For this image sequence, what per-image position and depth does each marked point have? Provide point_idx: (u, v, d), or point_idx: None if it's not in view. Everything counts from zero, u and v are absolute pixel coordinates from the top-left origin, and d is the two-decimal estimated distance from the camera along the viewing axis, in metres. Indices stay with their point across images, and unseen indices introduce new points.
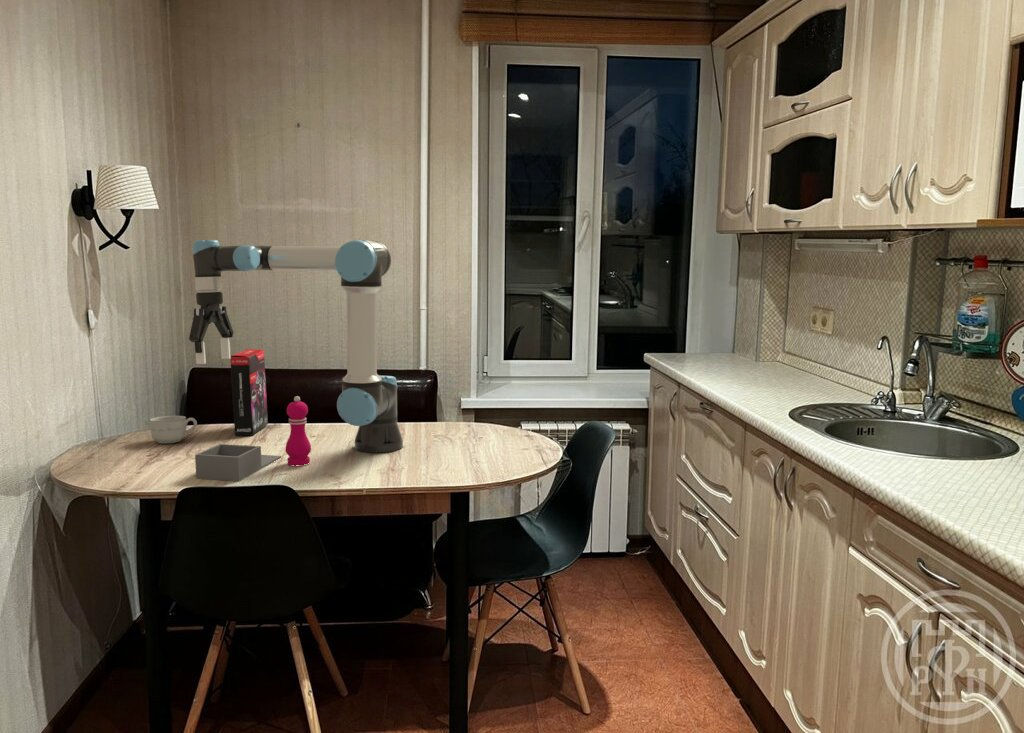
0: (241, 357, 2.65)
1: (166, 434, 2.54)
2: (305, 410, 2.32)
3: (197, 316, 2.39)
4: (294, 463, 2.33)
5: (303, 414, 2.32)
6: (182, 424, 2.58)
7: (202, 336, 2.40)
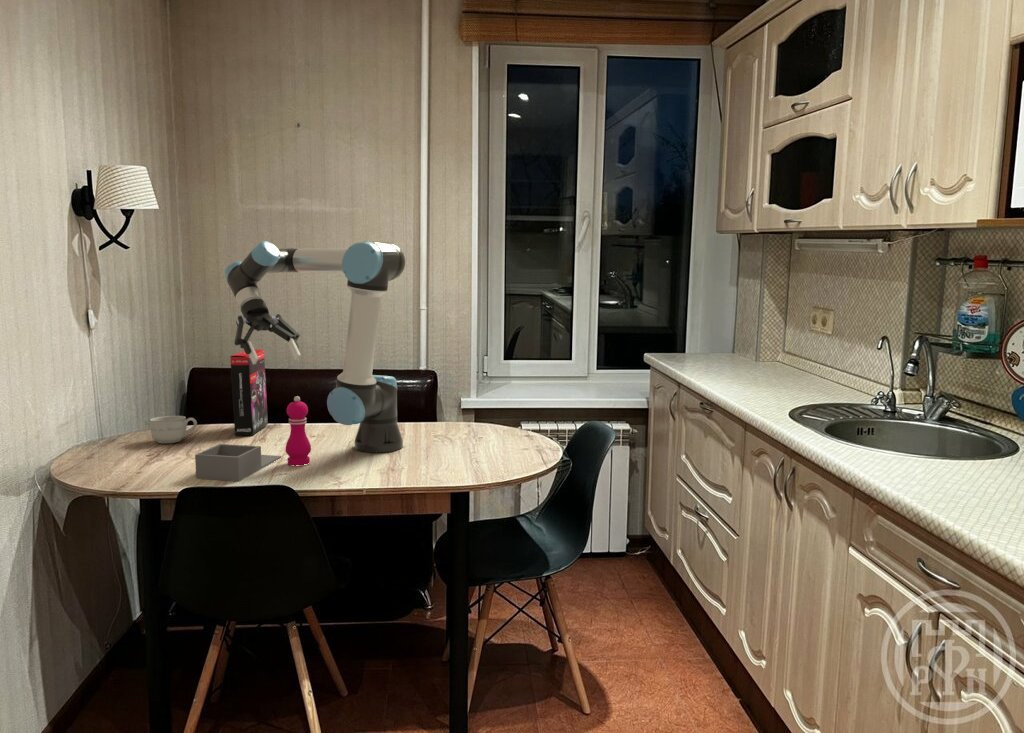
0: (241, 357, 2.65)
1: (166, 434, 2.54)
2: (305, 410, 2.32)
3: (238, 324, 2.40)
4: (294, 463, 2.33)
5: (303, 414, 2.32)
6: (182, 424, 2.58)
7: (246, 337, 2.37)
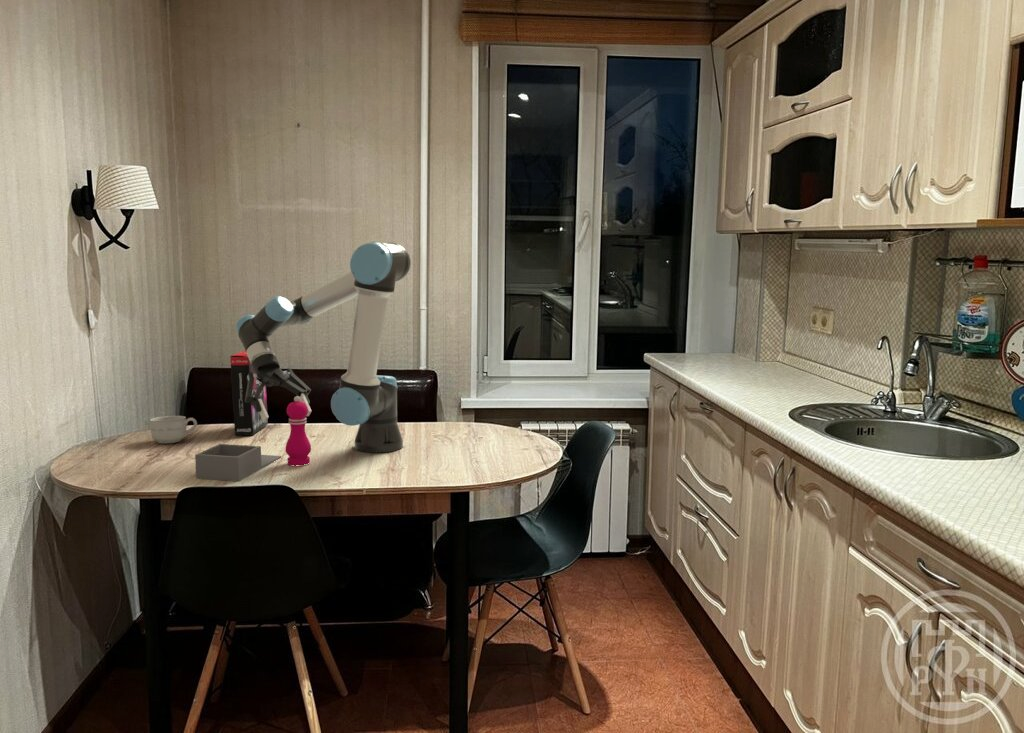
0: (241, 357, 2.65)
1: (166, 434, 2.54)
2: (305, 410, 2.32)
3: (249, 380, 2.38)
4: (294, 463, 2.33)
5: (303, 414, 2.32)
6: (182, 424, 2.58)
7: (257, 394, 2.35)
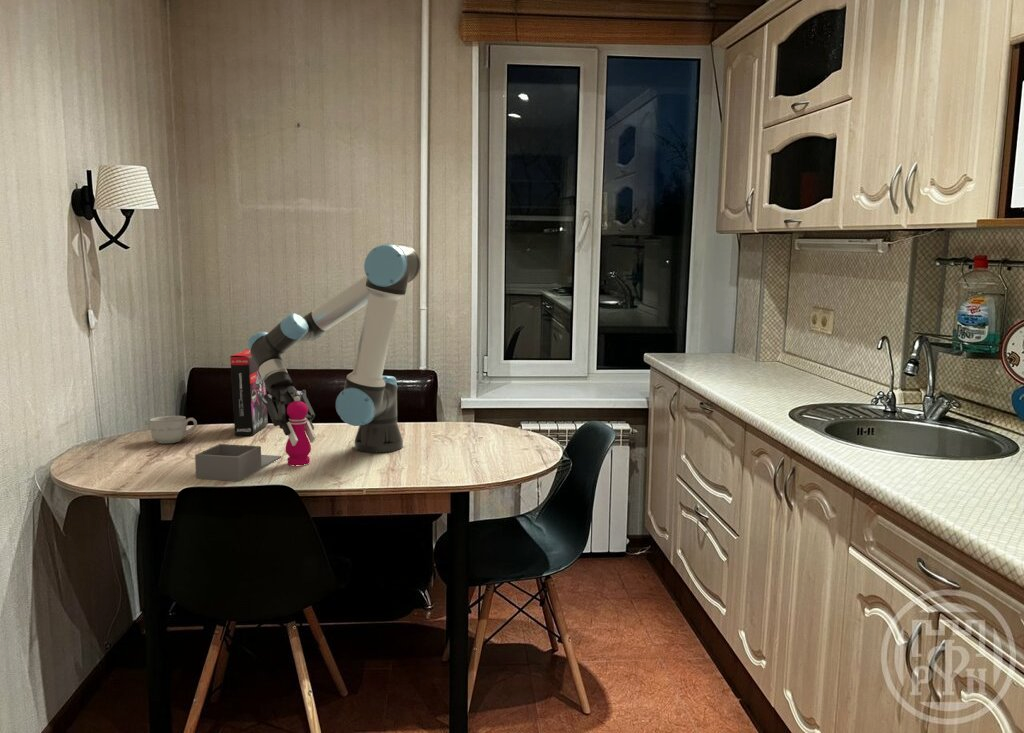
0: (241, 357, 2.65)
1: (166, 434, 2.54)
2: (305, 410, 2.32)
3: (267, 403, 2.34)
4: (294, 463, 2.33)
5: (303, 414, 2.32)
6: (182, 424, 2.58)
7: (283, 417, 2.32)
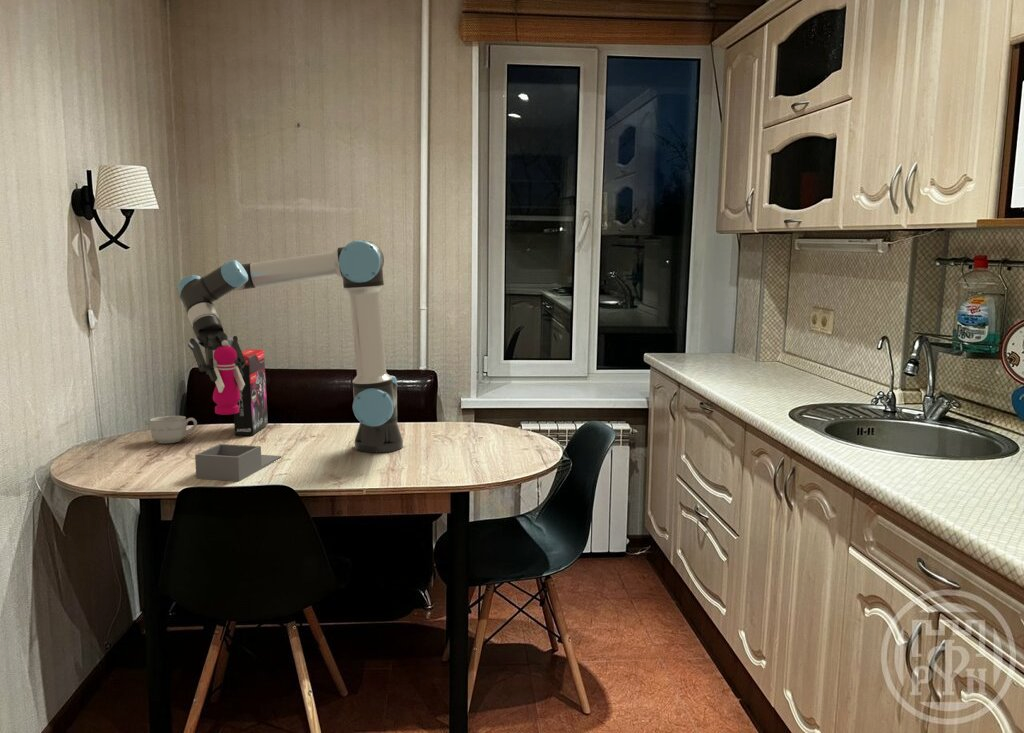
0: None
1: (166, 434, 2.54)
2: (233, 355, 2.19)
3: (193, 348, 2.21)
4: (221, 411, 2.19)
5: (231, 359, 2.19)
6: (182, 424, 2.58)
7: (210, 362, 2.19)
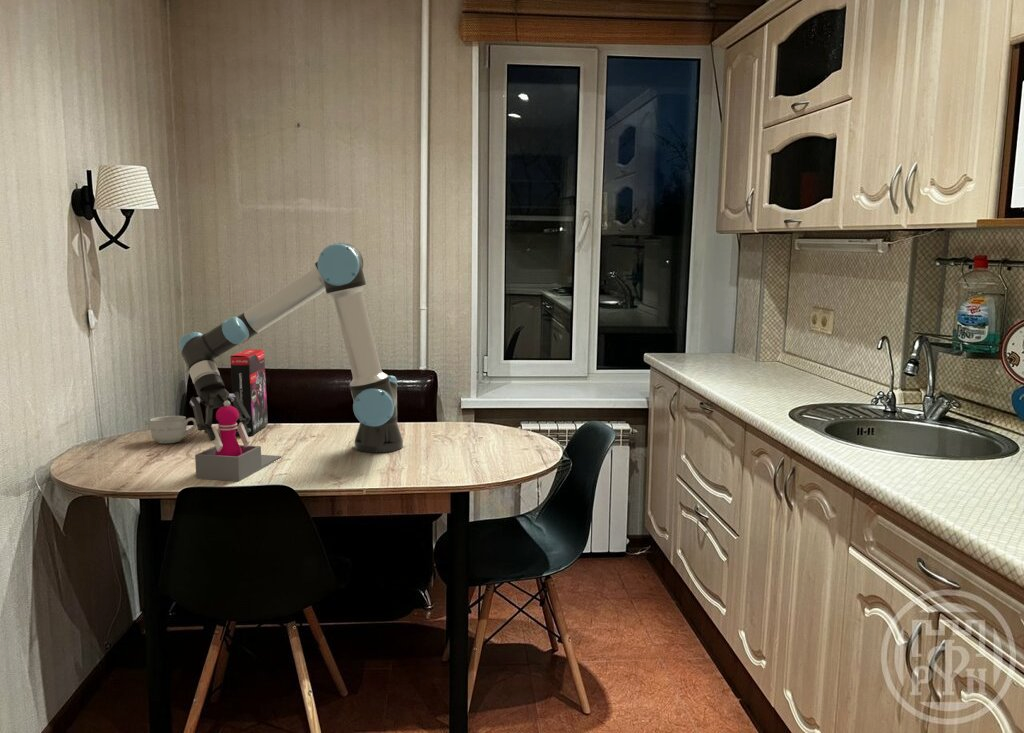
0: (241, 357, 2.65)
1: (166, 434, 2.54)
2: (235, 415, 2.21)
3: (194, 406, 2.23)
4: None
5: (233, 419, 2.21)
6: (182, 424, 2.58)
7: (209, 421, 2.21)
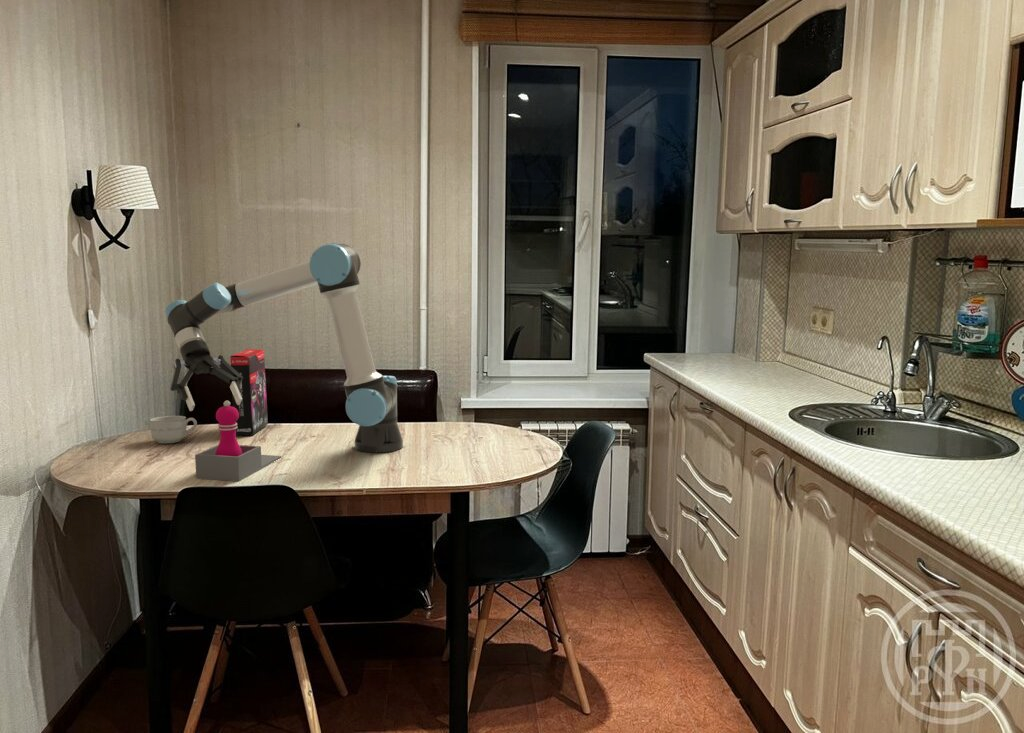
0: (241, 357, 2.65)
1: (166, 434, 2.54)
2: (235, 415, 2.21)
3: (176, 367, 2.28)
4: None
5: (233, 419, 2.21)
6: (182, 424, 2.58)
7: (183, 382, 2.25)
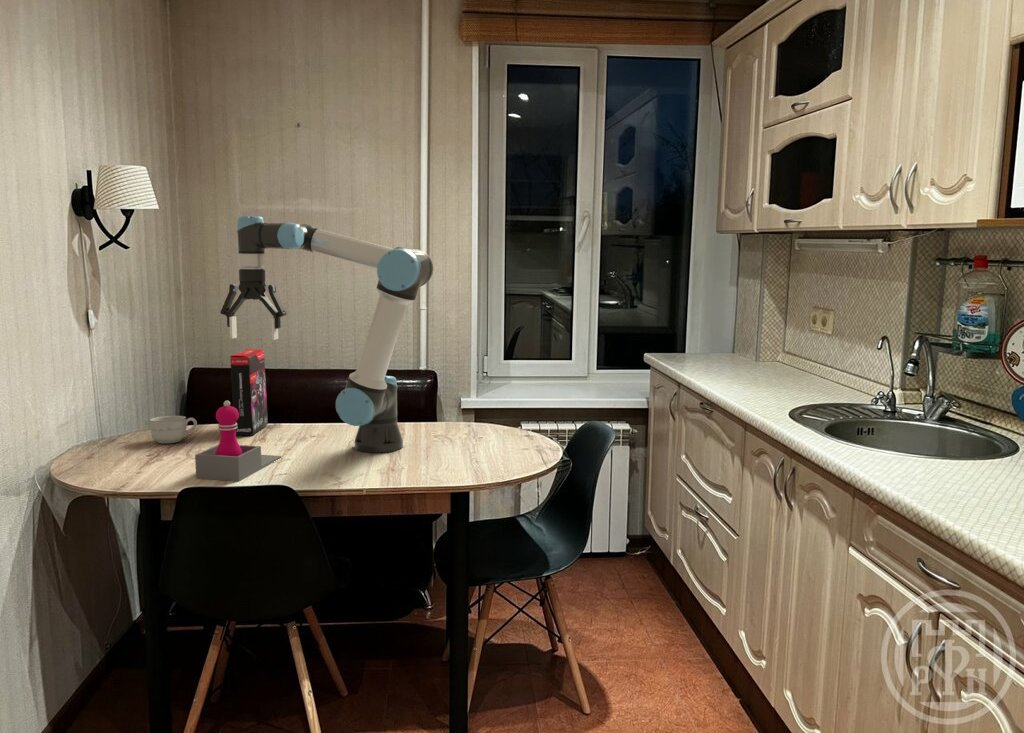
0: (241, 357, 2.65)
1: (166, 434, 2.54)
2: (235, 415, 2.21)
3: None
4: None
5: (233, 419, 2.21)
6: (182, 424, 2.58)
7: (229, 311, 2.45)
